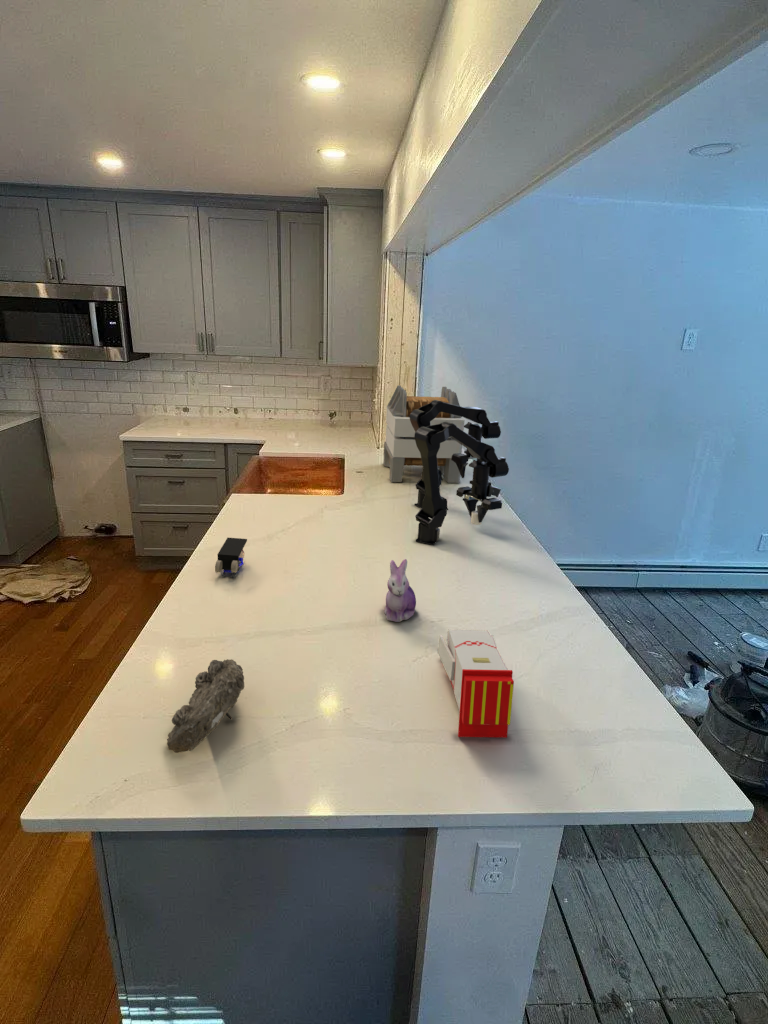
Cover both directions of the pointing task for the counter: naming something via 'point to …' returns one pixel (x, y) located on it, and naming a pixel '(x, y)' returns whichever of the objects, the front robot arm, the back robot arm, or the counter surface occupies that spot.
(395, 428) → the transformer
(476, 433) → the back robot arm
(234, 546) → the black toy vehicle
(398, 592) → the figurine
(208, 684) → the fossil
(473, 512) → the can
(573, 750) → the counter surface
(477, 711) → the toy
